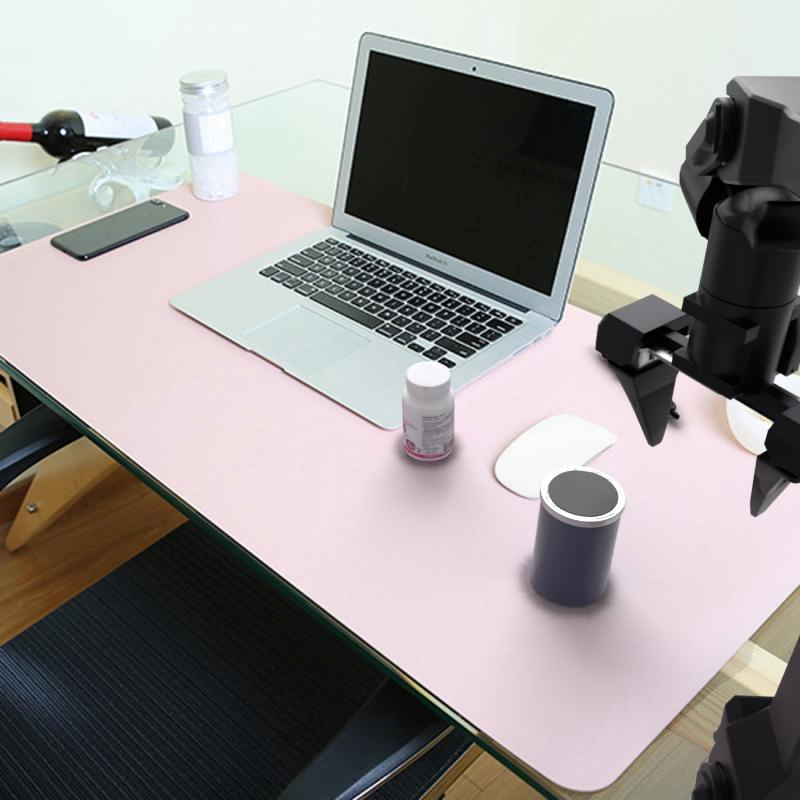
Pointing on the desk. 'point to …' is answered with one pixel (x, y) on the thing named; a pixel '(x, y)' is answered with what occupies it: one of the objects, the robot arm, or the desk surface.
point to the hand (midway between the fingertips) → (703, 477)
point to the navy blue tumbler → (576, 535)
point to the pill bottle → (428, 412)
